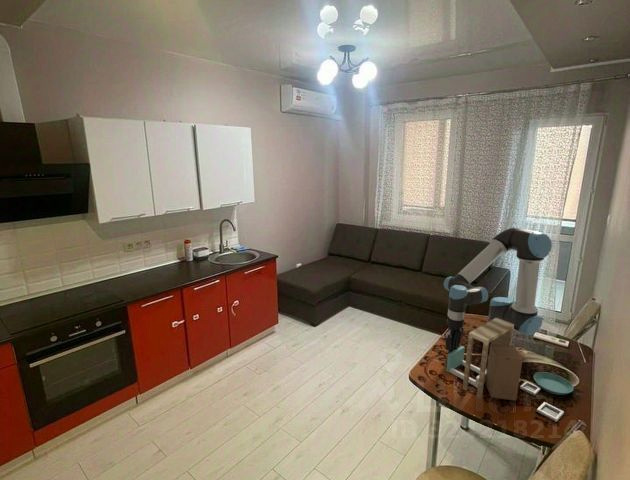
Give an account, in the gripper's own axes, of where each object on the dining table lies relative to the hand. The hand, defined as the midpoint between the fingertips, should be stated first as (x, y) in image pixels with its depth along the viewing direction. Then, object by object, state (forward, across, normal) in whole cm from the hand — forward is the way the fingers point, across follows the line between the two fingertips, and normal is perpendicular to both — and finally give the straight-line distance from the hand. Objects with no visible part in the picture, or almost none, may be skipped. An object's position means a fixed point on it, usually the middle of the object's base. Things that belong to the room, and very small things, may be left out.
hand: (451, 361), depth 168 cm
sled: (+2, 0, +9) cm, 10 cm away
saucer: (+3, -22, +36) cm, 42 cm away
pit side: (+2, -12, +31) cm, 34 cm away
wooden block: (+2, 0, +24) cm, 24 cm away
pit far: (+2, -3, +42) cm, 42 cm away
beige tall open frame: (+2, 0, +17) cm, 17 cm away
